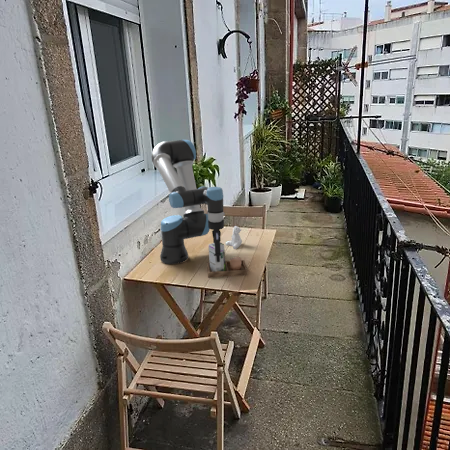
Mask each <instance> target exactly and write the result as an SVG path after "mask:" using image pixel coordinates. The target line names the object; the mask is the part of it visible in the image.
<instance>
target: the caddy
mask: <svg viewBox="0 0 450 450" xmlns="http://www.w3.org/2000/svg"><path fill="white" fill-rule="evenodd" d="M206 266H207V267H206V269H207V278H221V277H222V278H224V277H236V276H237V277H238V276H248V267H247V265H246V261H245V259H241V270H232V271H230V260H225V269H226V271H216V272H212V271H210V261H209V262H207V263H206Z"/></svg>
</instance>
